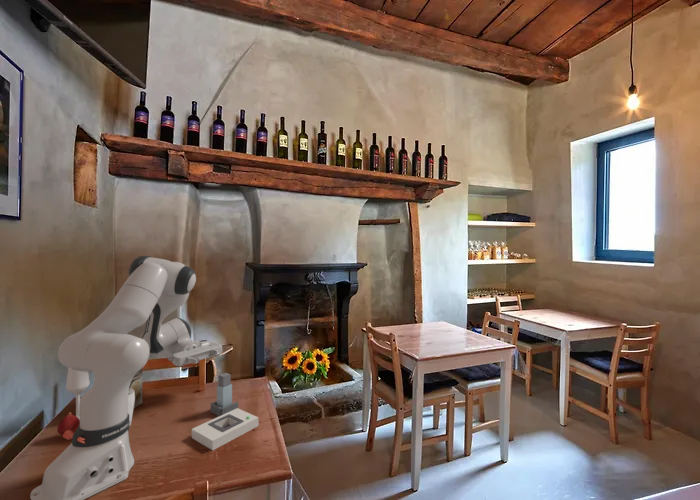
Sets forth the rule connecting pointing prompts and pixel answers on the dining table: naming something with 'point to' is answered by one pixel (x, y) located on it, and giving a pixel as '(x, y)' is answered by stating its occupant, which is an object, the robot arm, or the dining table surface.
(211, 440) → the block
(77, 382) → the champagne flute
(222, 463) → the dining table surface
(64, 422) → the onion
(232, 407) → the holster
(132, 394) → the cup
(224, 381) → the plug
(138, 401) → the coffee box
